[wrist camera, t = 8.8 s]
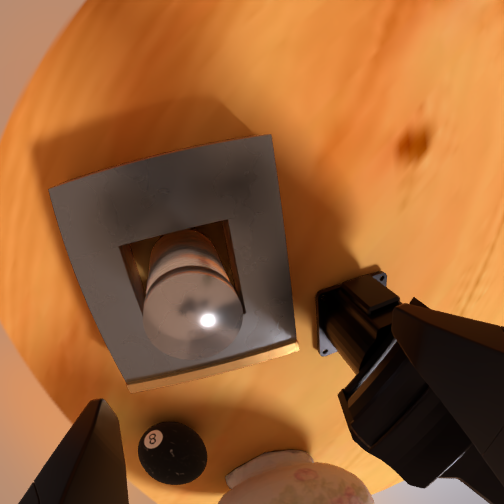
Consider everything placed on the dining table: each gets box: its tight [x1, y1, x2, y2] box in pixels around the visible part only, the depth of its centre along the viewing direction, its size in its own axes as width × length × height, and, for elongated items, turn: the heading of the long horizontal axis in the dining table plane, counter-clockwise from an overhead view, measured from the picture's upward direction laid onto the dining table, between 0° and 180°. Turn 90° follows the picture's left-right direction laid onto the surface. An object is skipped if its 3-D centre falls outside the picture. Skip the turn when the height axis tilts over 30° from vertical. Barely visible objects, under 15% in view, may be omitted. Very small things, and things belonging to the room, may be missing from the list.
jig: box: [48, 134, 299, 393], centre depth 18 cm, size 14×12×3 cm
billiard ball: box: [138, 422, 207, 485], centre depth 22 cm, size 6×6×6 cm
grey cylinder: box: [143, 229, 243, 360], centre depth 16 cm, size 4×4×7 cm
